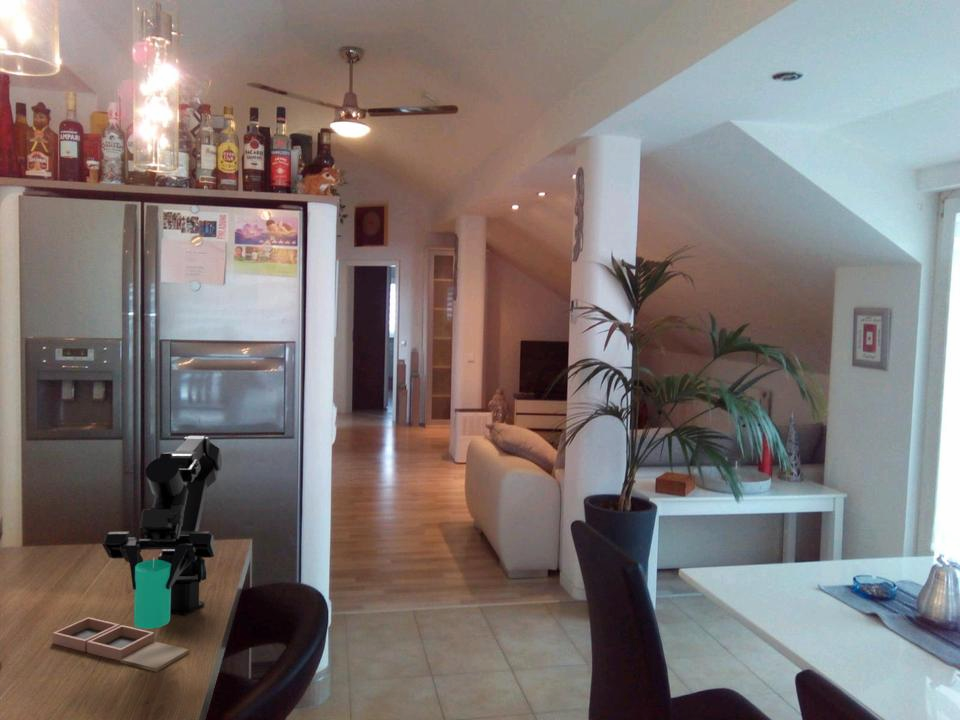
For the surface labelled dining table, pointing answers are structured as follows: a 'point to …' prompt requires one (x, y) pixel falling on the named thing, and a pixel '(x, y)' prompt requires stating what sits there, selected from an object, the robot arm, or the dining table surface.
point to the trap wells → (103, 638)
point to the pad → (154, 656)
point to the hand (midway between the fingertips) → (151, 588)
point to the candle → (152, 594)
